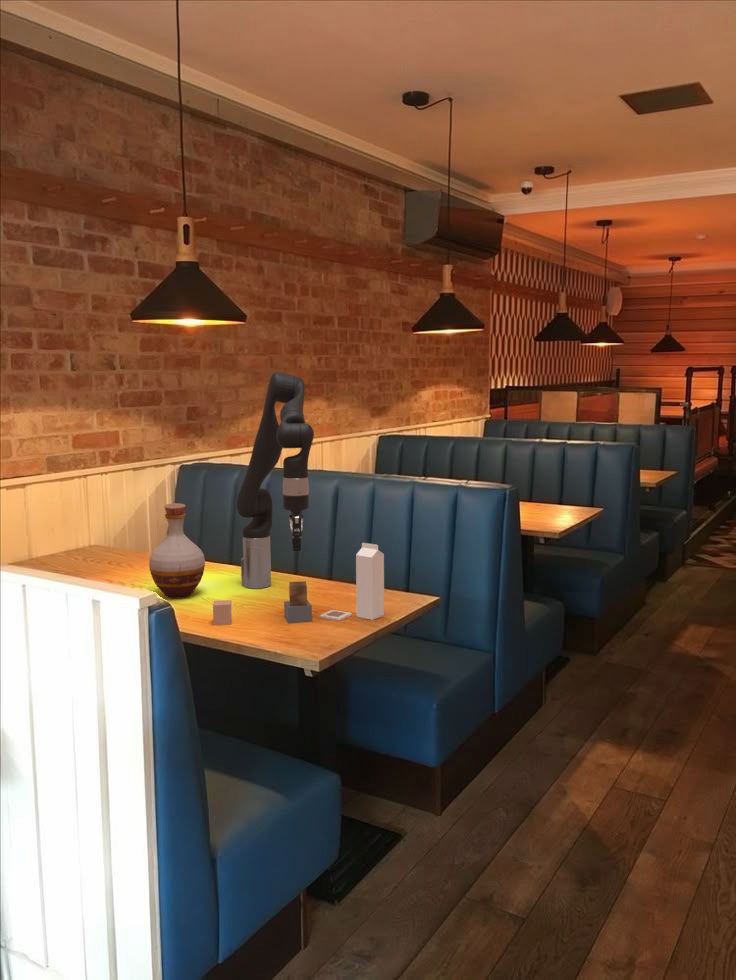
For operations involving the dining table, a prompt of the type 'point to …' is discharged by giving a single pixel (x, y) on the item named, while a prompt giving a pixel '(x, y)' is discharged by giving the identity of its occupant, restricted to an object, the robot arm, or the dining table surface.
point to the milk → (369, 582)
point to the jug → (176, 558)
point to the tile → (335, 615)
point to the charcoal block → (297, 613)
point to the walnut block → (298, 593)
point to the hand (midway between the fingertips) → (296, 547)
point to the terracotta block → (222, 612)
